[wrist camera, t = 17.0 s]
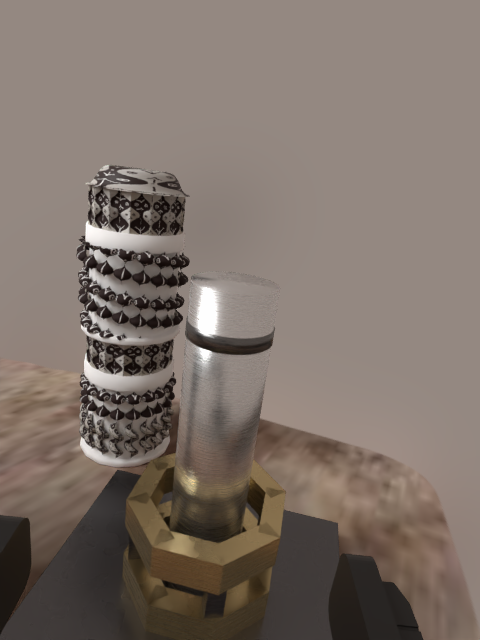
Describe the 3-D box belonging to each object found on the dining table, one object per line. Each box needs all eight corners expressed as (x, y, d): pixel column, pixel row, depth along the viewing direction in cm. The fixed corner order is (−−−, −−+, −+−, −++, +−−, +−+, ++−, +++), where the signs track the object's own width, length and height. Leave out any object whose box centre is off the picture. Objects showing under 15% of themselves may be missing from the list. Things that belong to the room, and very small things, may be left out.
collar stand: (-6, 662, 22) (-15, 552, 20) (117, 484, 35) (120, 406, 33) (341, 773, 20) (379, 664, 17) (333, 538, 33) (354, 457, 30)
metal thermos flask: (153, 594, 25) (177, 284, 19) (177, 536, 29) (203, 267, 23) (227, 614, 24) (276, 301, 18) (241, 551, 29) (284, 280, 23)
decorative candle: (61, 467, 36) (58, 158, 28) (90, 410, 45) (95, 162, 37) (168, 474, 37) (194, 177, 29) (176, 416, 46) (199, 176, 38)
